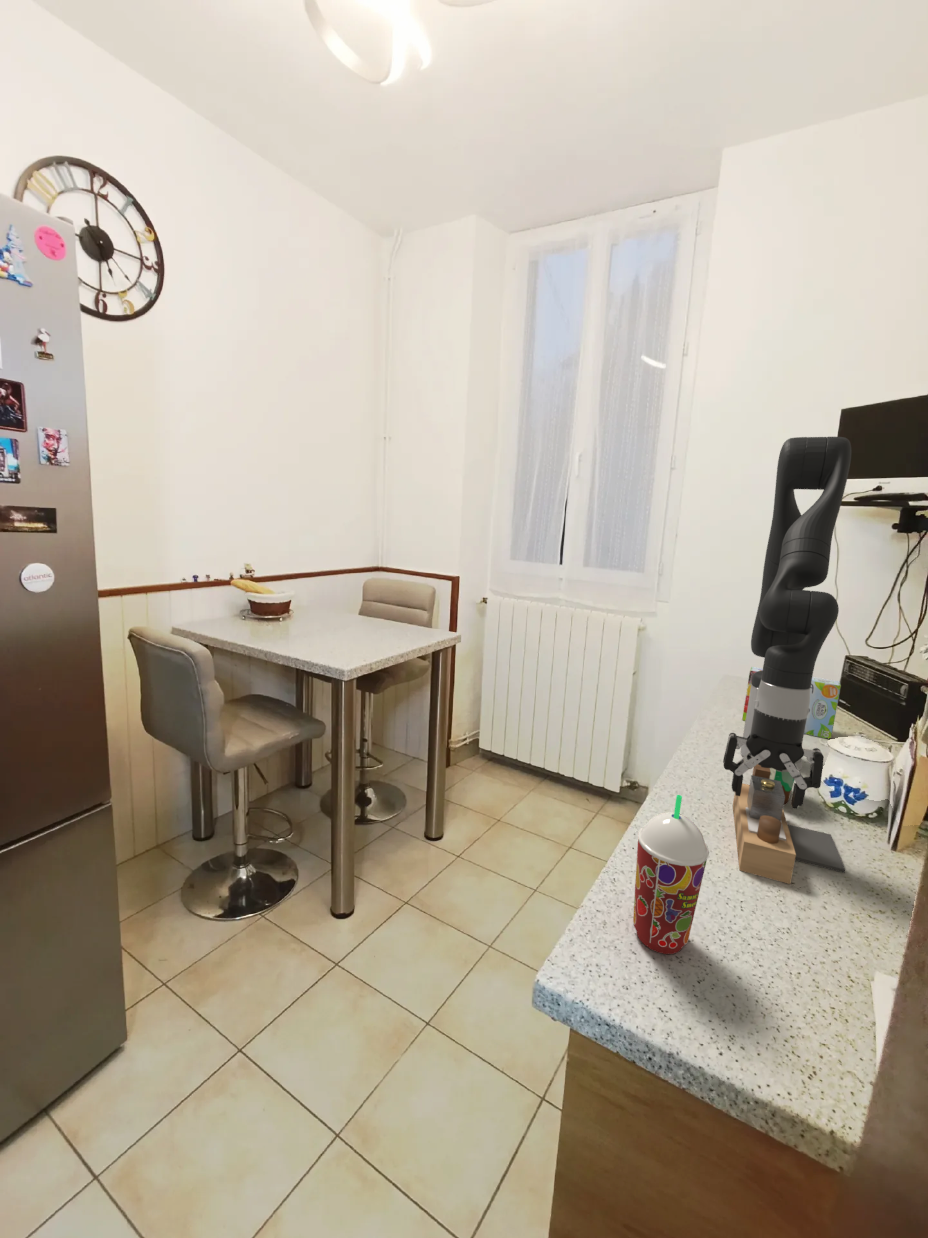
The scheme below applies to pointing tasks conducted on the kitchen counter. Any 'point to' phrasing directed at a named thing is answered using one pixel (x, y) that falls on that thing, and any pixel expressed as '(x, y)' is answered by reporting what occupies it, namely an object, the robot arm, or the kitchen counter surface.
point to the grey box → (765, 798)
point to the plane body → (762, 839)
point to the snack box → (813, 705)
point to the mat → (815, 848)
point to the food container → (785, 779)
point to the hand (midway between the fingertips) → (765, 800)
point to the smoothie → (668, 880)
